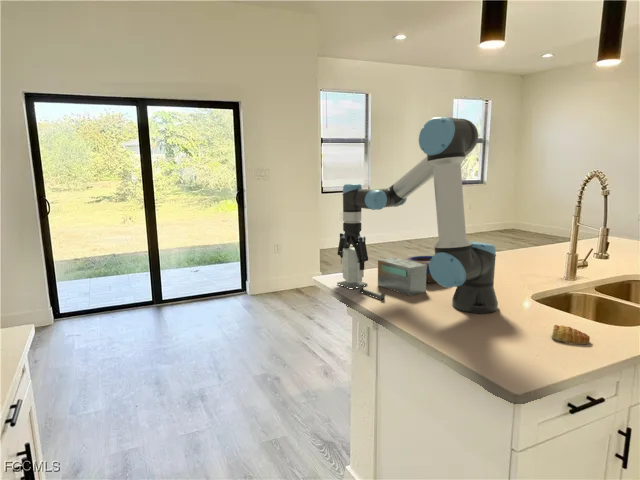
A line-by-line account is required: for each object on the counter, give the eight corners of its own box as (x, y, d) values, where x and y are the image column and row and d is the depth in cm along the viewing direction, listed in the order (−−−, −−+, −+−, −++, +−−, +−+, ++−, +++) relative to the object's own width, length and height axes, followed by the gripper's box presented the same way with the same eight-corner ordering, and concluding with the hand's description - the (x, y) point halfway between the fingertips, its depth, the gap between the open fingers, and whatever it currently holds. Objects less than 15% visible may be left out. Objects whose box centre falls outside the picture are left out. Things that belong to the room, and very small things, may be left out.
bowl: (425, 272, 197) (425, 251, 195) (456, 280, 182) (457, 258, 180) (396, 278, 187) (396, 256, 186) (426, 287, 172) (427, 264, 171)
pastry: (589, 339, 121) (590, 327, 120) (589, 348, 115) (590, 335, 115) (551, 333, 126) (553, 321, 125) (550, 341, 120) (551, 328, 120)
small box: (362, 281, 174) (362, 250, 171) (347, 282, 172) (347, 251, 170) (356, 276, 181) (356, 247, 179) (342, 277, 180) (342, 247, 178)
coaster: (367, 285, 176) (367, 283, 176) (350, 289, 171) (350, 287, 171) (353, 281, 184) (353, 278, 183) (337, 284, 178) (337, 282, 178)
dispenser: (425, 291, 167) (426, 264, 165) (387, 302, 155) (387, 273, 153) (393, 281, 181) (393, 256, 180) (355, 291, 169) (355, 264, 167)
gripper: (377, 223, 166) (377, 278, 170) (342, 218, 184) (342, 268, 188) (363, 225, 162) (363, 282, 165) (328, 219, 179) (329, 271, 183)
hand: (352, 274), depth 177 cm, fingers closed on small box, 10 cm apart
